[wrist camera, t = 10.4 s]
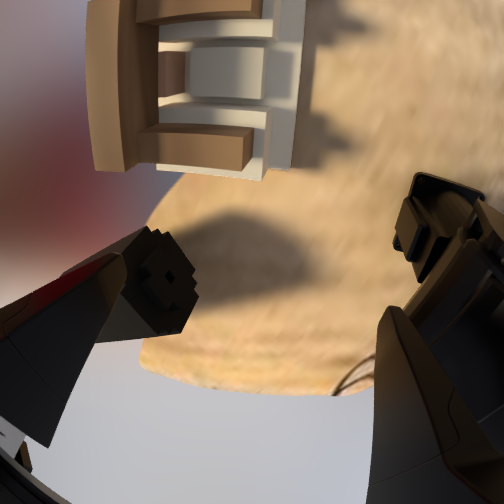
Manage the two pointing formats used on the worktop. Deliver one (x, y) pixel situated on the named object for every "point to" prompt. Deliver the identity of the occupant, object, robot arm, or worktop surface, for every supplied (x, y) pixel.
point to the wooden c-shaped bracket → (151, 88)
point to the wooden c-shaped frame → (236, 81)
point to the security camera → (149, 287)
